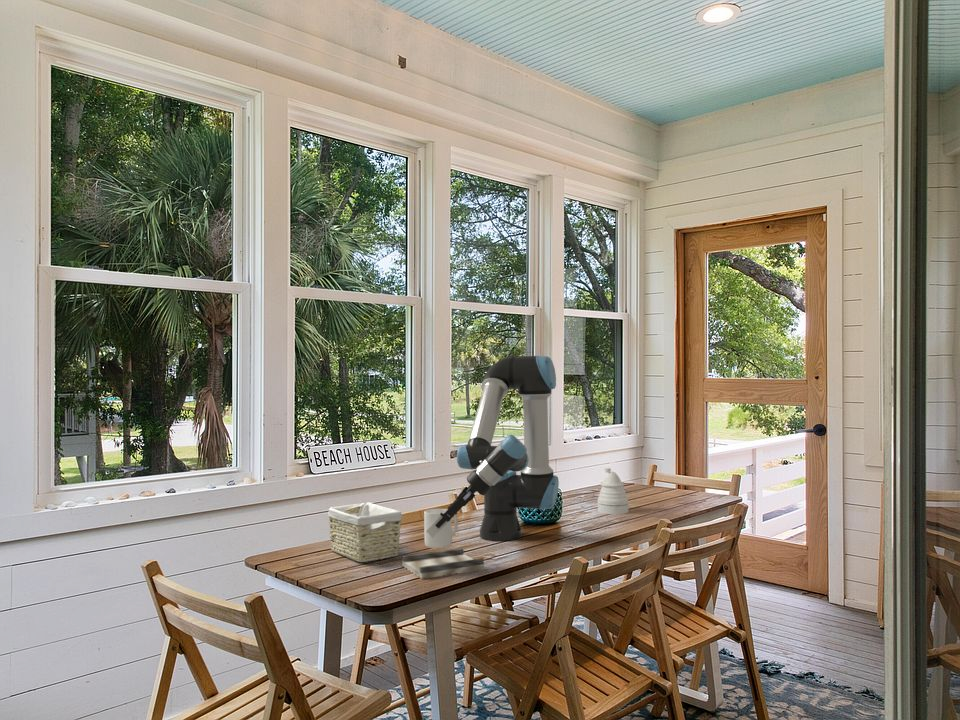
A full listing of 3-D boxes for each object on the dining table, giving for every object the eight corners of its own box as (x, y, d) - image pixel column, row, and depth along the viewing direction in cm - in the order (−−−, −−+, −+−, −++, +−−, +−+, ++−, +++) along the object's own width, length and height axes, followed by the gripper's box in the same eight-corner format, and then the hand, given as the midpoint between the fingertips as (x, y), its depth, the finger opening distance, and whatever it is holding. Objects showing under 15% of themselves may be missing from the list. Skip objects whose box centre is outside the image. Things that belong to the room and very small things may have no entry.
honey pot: (594, 513, 291) (594, 470, 292) (601, 507, 303) (600, 466, 303) (625, 515, 286) (624, 471, 287) (631, 509, 298) (630, 467, 299)
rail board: (461, 557, 221) (461, 548, 221) (484, 569, 206) (484, 559, 206) (402, 565, 212) (402, 555, 212) (421, 578, 197) (421, 568, 197)
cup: (418, 545, 209) (418, 511, 209) (448, 538, 217) (447, 505, 217) (437, 549, 203) (436, 514, 203) (466, 542, 211) (466, 509, 211)
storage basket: (326, 550, 232) (325, 506, 232) (369, 543, 241) (369, 501, 242) (358, 565, 213) (358, 517, 213) (404, 557, 222) (404, 511, 223)
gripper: (478, 464, 220) (429, 514, 221) (471, 473, 198) (416, 529, 199) (495, 481, 219) (446, 531, 220) (489, 492, 197) (435, 548, 198)
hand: (432, 530), depth 210 cm, fingers closed on cup, 10 cm apart
